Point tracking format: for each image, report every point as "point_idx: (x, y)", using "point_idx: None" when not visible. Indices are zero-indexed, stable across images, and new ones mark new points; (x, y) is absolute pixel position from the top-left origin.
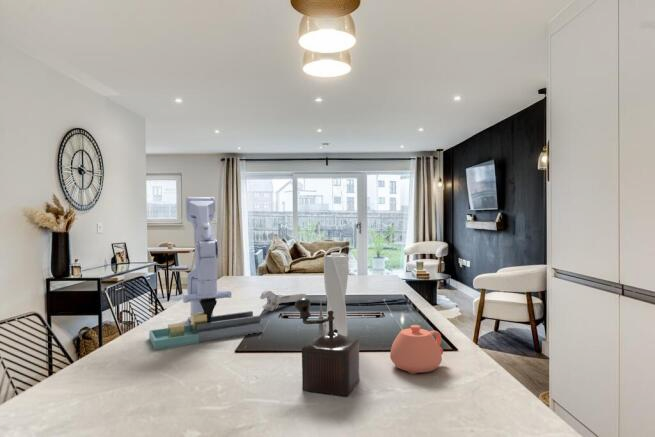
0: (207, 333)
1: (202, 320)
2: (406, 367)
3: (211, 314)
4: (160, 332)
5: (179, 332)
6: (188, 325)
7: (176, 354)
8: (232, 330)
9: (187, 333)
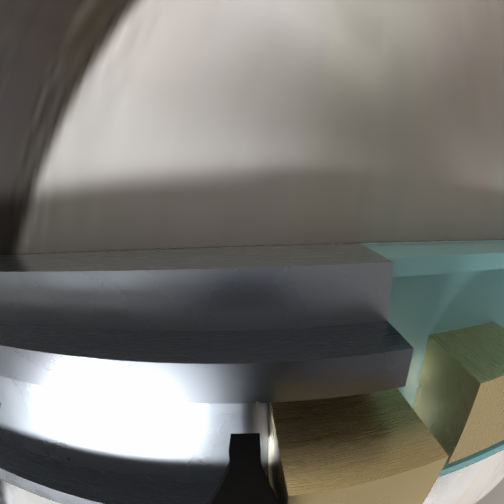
0: (299, 259)
1: (332, 438)
2: None
3: (215, 495)
4: None
5: (481, 352)
6: None
7: (495, 87)
8: (62, 264)
9: None
